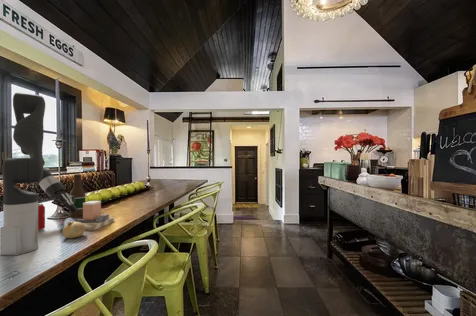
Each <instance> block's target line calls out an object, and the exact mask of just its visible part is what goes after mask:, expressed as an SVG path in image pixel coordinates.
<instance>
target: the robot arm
mask: <svg viewBox="0 0 476 316" xmlns="http://www.w3.org/2000/svg"><path fill="white" fill-rule="evenodd" d="M12 107H13V112H14V117H15V121H16V123H15V125H14V128H13V134H12V138H13V141H14V142H15V144H16V145H17V147H19V148H20V152H21V153H22V154H23V155H25V156H27V157H12V158H11V157H8V158H6V159H4V160H3V162H2V167H1V171H2V173H1V176H2V186H3V199H2V200H3V204H2V205H3V218H2V219H3V223H2V224H3V226H1V227H0V256H19V255H22V254H26V253H30V252H33V251H35V250H37V249H38V248H39V232H38V204H39V195H38V193H36V192H34V191H28V190H24V189H21V188H19V187H18V186H17V185H20V184H21V185H22V184H36V183H37V184H38V185H39V186H40V188H41V189H42V191H44V192H45V194H46V195H47V196H48V197H49V198H50V199H53V200H52V201H51V204H53V205H55V206H58V207H60V208H62V209H65V208H66V209H68V211H69V210H70V211H71V212H72V213H75V212H76V211H77V210H78V209H77V208H76V207H75V206H74V203H75V202H76V200H75V195H70V192H67V188H66V187H65V185H63V184H62V183H61V181H60V180H59V179H58V178H56V177H55V176H54V174H52V172H51V171H50V170H48V169H47V168H44V166H45V162H46V161H45V158H43V143H44V131H45V130H44V129H45V128H44V118H45V112H46V100H45V98H44V97H43V95H42V96H41V95H39V94H34V93H24V92H15V93H14V94H13V98H12ZM25 115H27V116H25Z"/></svg>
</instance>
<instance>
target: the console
mask: <svg viewBox="0 0 476 316" xmlns="http://www.w3.org/2000/svg"><path fill="white" fill-rule="evenodd" d="M73 221H74V222H81V223H83V224H84V225H85V227H86V230H85V231H90V232H91V231H95V230H98V229H100V228H102V227H105V226H107V225H109V224H111V223H114V222H115V217H113V216H112V217H110V214H107V213H106V214H101V216H99V217H97V218H96V221H95V220H86V219H83V218H82V219H81V218H79V219H78V218H77V219H76V218H75V219H74V220H73ZM66 225H67V224H65V225H64V226H63V228H64V227H65V226H66Z"/></svg>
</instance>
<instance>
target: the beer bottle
mask: <svg viewBox="0 0 476 316" xmlns="http://www.w3.org/2000/svg"><path fill="white" fill-rule="evenodd" d="M69 195H75V200H76V202H75V203H74V206H75V207H76V208H77V209H78V210H77V211H76V212H75V213H72V212H71V211H70V210H69V209H68V211H69V215H68V216H69V217H70V218H81V217H82V218H83V203H85V202H86V192H85V190H84V189H83V187H82V174H81V173H79V174H78V173H77V174H73V187H72V189H71V191H70V192H69Z"/></svg>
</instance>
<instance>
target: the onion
mask: <svg viewBox="0 0 476 316" xmlns="http://www.w3.org/2000/svg"><path fill="white" fill-rule="evenodd" d="M65 225H66V226H65ZM65 225H64V226H65V227H64V226H63V228H62V231H61V232H62V236H63V237H64V238H65V239H75V238H79V237H83V235H84V234H85V232H86V231H87V230H86V227H85V225H84V224H83V223H81V222H74V220H73V221H72V220H70V221H68V222H67V223H66V224H65Z"/></svg>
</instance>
